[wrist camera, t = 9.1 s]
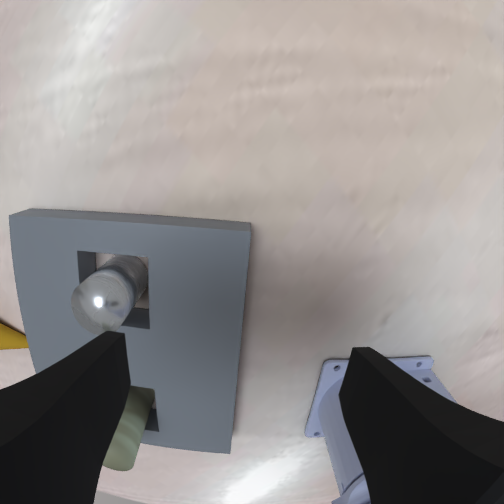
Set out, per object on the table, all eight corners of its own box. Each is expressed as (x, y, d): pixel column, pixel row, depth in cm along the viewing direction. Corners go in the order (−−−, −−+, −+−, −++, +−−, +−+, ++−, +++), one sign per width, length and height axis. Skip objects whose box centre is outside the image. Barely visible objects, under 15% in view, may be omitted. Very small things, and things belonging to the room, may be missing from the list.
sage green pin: (154, 379, 22) (130, 448, 15) (155, 407, 23) (136, 474, 16) (116, 372, 22) (84, 437, 15) (120, 400, 23) (93, 464, 16)
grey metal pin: (148, 255, 19) (121, 285, 14) (148, 299, 20) (124, 339, 15) (104, 251, 19) (67, 278, 14) (106, 294, 20) (74, 330, 15)
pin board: (250, 222, 19) (251, 231, 17) (230, 431, 24) (230, 453, 21) (30, 208, 18) (8, 215, 16) (63, 403, 23) (52, 420, 20)
